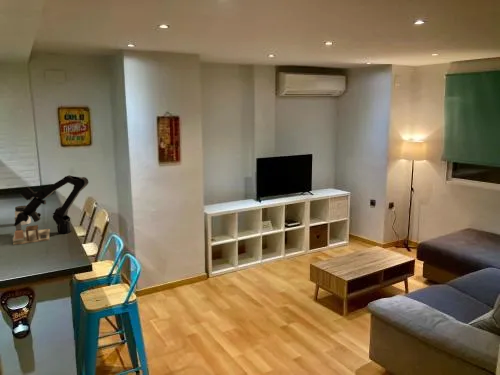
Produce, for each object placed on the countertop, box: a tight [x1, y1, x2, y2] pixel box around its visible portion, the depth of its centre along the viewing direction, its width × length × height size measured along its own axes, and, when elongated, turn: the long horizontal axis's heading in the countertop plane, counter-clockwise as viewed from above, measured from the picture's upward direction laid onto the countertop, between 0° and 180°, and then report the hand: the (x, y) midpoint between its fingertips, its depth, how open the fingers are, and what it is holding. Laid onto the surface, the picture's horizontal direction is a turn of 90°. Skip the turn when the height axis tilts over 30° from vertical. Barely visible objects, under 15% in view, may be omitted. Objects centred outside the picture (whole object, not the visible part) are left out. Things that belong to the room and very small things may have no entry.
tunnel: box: [25, 224, 39, 241], centre depth 246 cm, size 6×8×7 cm
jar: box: [14, 205, 32, 226], centre depth 286 cm, size 9×8×12 cm
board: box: [12, 228, 51, 246], centre depth 253 cm, size 18×25×1 cm
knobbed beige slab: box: [12, 217, 26, 242], centre depth 250 cm, size 6×20×10 cm, turn 24°
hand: (15, 224), depth 256 cm, fingers open, 4 cm apart
